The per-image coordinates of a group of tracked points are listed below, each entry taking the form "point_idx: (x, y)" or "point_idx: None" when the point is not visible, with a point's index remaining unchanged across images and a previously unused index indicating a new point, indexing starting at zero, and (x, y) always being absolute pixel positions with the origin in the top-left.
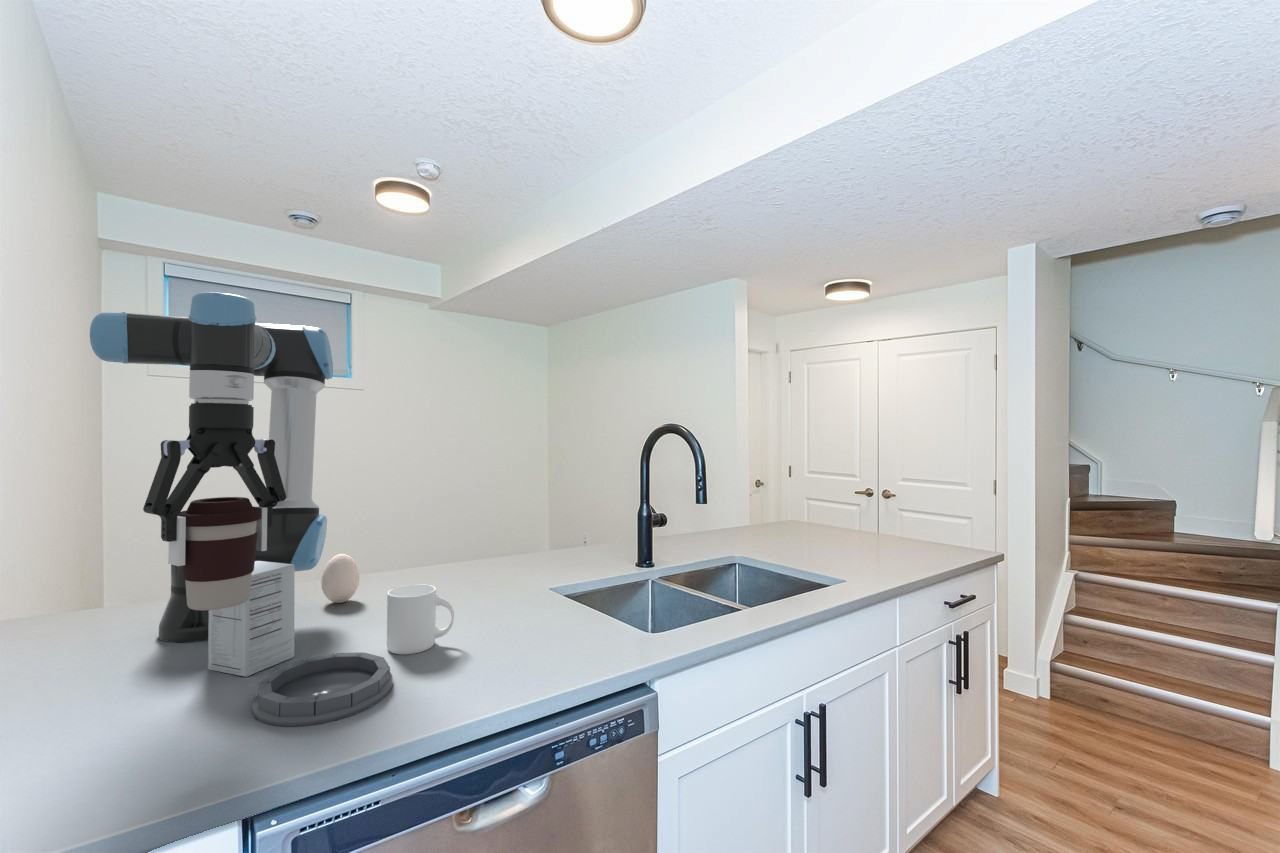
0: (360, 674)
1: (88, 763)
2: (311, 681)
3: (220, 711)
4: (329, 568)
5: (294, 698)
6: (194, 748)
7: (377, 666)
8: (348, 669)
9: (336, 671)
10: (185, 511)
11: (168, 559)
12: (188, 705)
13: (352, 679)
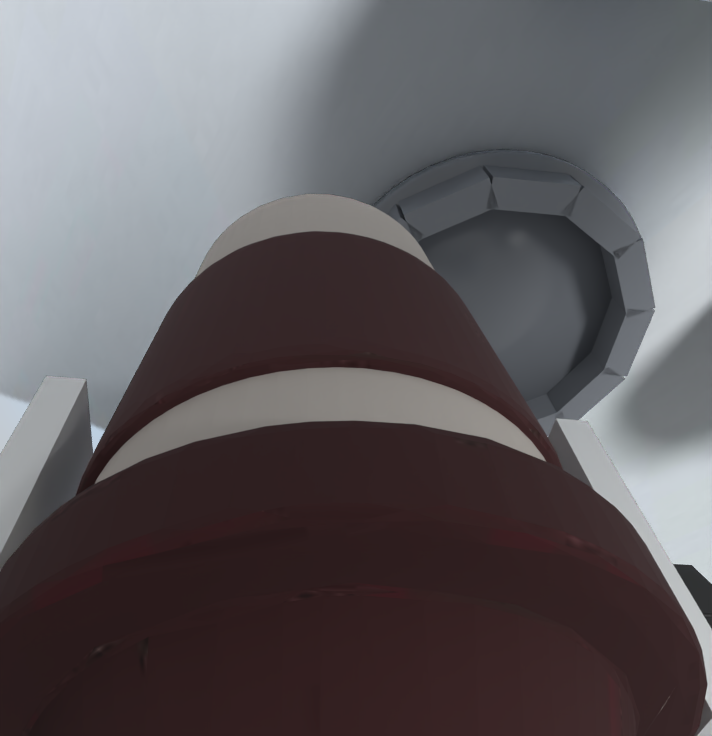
0: (575, 331)
1: (25, 99)
2: (511, 254)
3: (328, 142)
4: None
5: None
6: (190, 262)
7: (569, 400)
8: (599, 282)
9: (582, 262)
10: (82, 645)
11: (37, 391)
12: (317, 4)
13: (544, 336)
